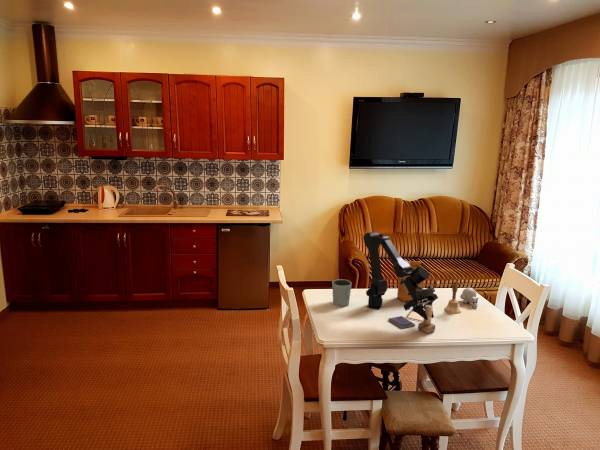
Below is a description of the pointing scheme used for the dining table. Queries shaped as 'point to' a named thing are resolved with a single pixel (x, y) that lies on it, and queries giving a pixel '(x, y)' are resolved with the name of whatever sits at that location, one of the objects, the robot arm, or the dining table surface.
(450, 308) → the hand bell
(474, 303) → the round bodied animal figurine
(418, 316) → the marked card
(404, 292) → the coffee package
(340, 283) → the grey cup
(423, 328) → the stamp
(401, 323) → the ink pad
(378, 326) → the dining table surface
